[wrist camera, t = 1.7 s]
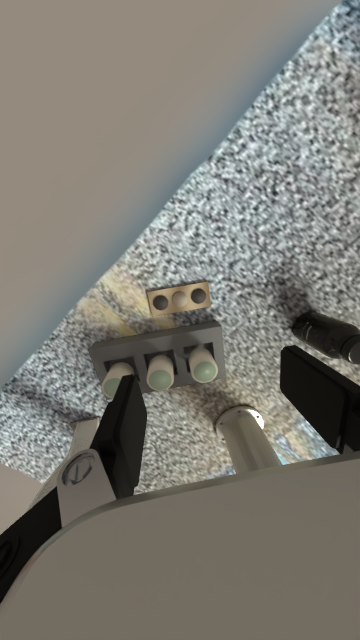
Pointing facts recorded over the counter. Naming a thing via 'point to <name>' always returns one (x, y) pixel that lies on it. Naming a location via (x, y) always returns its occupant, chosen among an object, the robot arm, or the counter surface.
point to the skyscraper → (71, 451)
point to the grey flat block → (160, 352)
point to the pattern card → (179, 298)
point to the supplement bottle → (329, 336)
